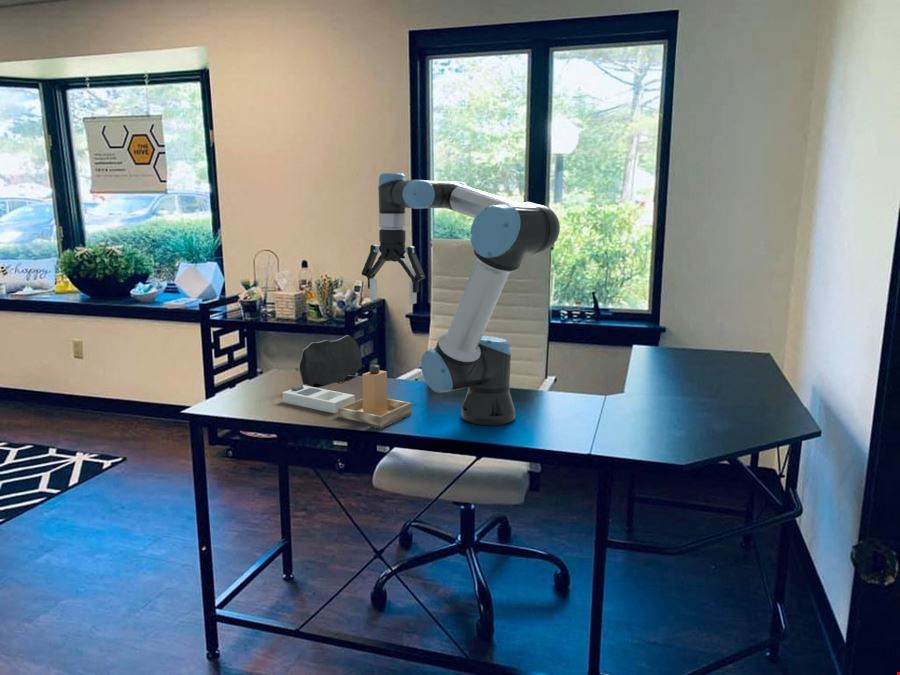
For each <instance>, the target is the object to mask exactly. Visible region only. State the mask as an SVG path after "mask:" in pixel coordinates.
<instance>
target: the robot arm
mask: <svg viewBox="0 0 900 675" xmlns="http://www.w3.org/2000/svg"><path fill="white" fill-rule="evenodd" d="M377 190H378V226H379V228H381V229H379V232H378V236H379V240H378V241H379V243H380V244H371V245H370V249H369V253H368V256H367V259H366V261H365V264H364V266H363V269H362V271H361V275H362V277H363V276H364V277H366V279H367V289H369V301H370V302H371V301H372V302H373V301H376V300H378V278H377V277H376V275H377V274H378V272H379V271H380V269H381V268H383V266H384V264H385V263H386V262H398V264H400V265H401V267H402V268H403V270H404V271H405V272H406V274H407V275H408V277H409V278H410V280H411V281H409V304H410V305H414V304H417V302H418V301H417V300H418V299H417V298H418V297H417V296H418V295H417V294H418V293H419V291H420V281H422V280H425V279H426V275H425V273H424V271H423V268H422V265H421V263H420V261H419V259H418V256H417V253H416V247H415V246H414V245H411V246H406V239H407V238H406V230H405V229H404V228H405V227H406V209H414V210H418V209H419V210H423V209H449V210H450V211H453V212H457V213H459V214H461V215H464V216H468V217H470V218H473V221H472V223H471V227H470V235H471V238H470V242H471V245H472V248H473V250H472V252H473V255H474V257H475V262H474V265H473V268H472V269H471V272H470V274H469V275H470V276H469V277H468V280H467V282H466V285H465V288H464V290H463V293H462V295H461V298H460V300H459V302H458V305H457V308H456V310H455V313H454V316H453V318H452V321H451V322H450V326H449V328H448V331H447V332H445V333H443V334H441V335H440V336H439V338H438V340H437V343H436V346H435V347H434V348H430V349H428V350H425V351H424V353H423V354H422V356H421V362H420V364H421V365H420V367H421V368H420V369H421V372H422V376H423V379H424V381H425V382H426V384H427V386H428V387H429V388H430V389H431V390H433V391H434V392H436V393H451V392H453V391H456V390H462V389H467V393H466V396H465V398H464V401H463V403H462V407H461V419H463V421H465V422H466V423H467V422H468V423H470V424H474V425H479V426H500V425H506V424H510V423H511V422H514V420H515V419H516V408H515V404H514V402H513V398H512V395H511V393H510V392H511V391H510V385H511V383H510V382H511V381H510V379H511V378H510V377H511V360H512V358H511V356H512V353H511V343H510V342H509V341H508V340H507V339H505V338H501V337H496V336H491V335H484V333H485V331H486V328H487V327H488V324H489V321H490V320H491V317H492V316H493V312H494V310H495V308H496V305H497V303H498V300H499V298H500V296H501V294H502V291H503V289H504V287H505V285H506V283H507V280H508V277H509V275H510V273H513V272H516V271H518V270H519V268H520V267H521V264H522V263H523V260H524V257H525V256H526V255H536V254H542V253H544V252H546V251H548V250H549V249H551V248H552V247H553V246H554V245H555V244H556V242H557V241H558V238H559V235H560V231H561V230H560V229H561V226H560V221H559V218H558V216H557V214H556V212H554V211H553V210H552V209H551V208H550V207H548V206H546V205H542V204H538V203H534V202H531V201H526V202H523V203H520V202H517V201H514V200H510V199H507V198H504V197H502V196H499V195H496V194H492V193H490V192H485V191H482V190H480V189H477V188H473V187H470V186H469V184H468V183H466V182H464V181H459V180H424V179H410V180H406V176H405V174H404V173H398V172H396V173H395V172H394V173H393V172H388V173H387V172H384V173H381V174H380V175H379V177H378V187H377ZM379 252H380V255H379V257H378V254H379ZM405 253H406V254H407V256H406V255H405ZM377 257H378V258H377ZM407 257H408V258H407ZM376 259H377V260H376ZM408 259H409V261H408Z"/></svg>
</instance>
